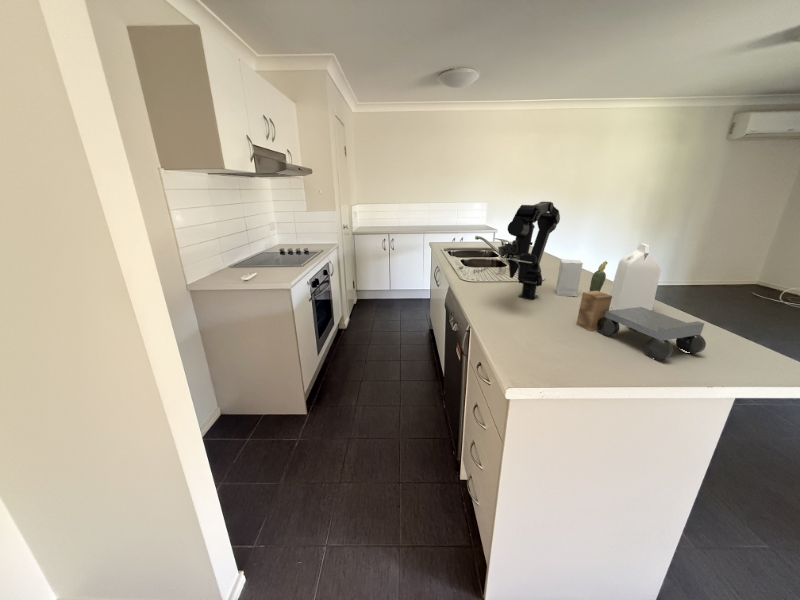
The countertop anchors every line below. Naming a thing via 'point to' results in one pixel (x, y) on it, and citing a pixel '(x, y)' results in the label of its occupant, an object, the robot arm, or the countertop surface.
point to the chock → (593, 309)
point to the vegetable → (598, 278)
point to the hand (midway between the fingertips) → (515, 278)
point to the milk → (635, 280)
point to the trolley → (655, 330)
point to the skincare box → (568, 277)
